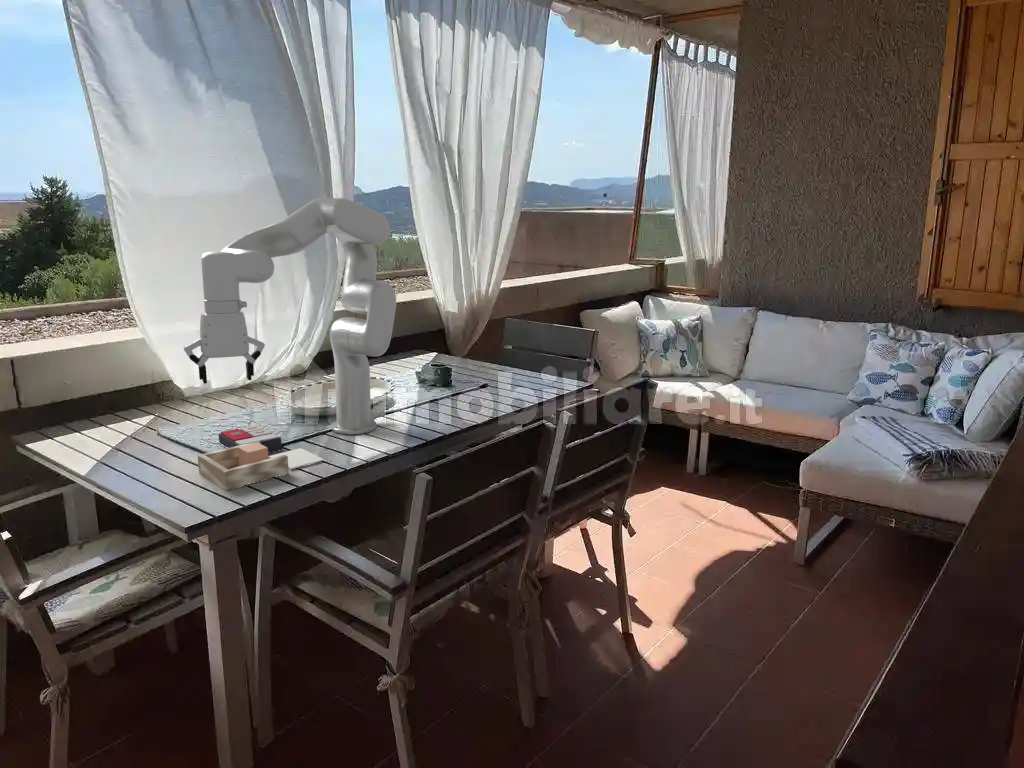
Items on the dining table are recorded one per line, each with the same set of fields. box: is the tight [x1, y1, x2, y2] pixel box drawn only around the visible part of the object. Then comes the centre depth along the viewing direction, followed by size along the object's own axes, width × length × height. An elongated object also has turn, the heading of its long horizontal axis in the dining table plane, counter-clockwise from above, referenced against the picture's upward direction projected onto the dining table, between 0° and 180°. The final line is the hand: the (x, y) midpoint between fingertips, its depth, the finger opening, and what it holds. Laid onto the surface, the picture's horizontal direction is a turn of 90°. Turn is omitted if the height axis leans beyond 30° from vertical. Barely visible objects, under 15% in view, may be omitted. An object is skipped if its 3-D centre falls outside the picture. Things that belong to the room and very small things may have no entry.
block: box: [238, 443, 269, 467], centre depth 174 cm, size 5×5×6 cm
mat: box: [268, 447, 325, 470], centre depth 183 cm, size 9×11×1 cm
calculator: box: [218, 424, 283, 453], centre depth 191 cm, size 11×4×15 cm
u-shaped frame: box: [197, 441, 290, 491], centre depth 173 cm, size 15×14×4 cm
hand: (227, 380), depth 170 cm, fingers open, 9 cm apart
